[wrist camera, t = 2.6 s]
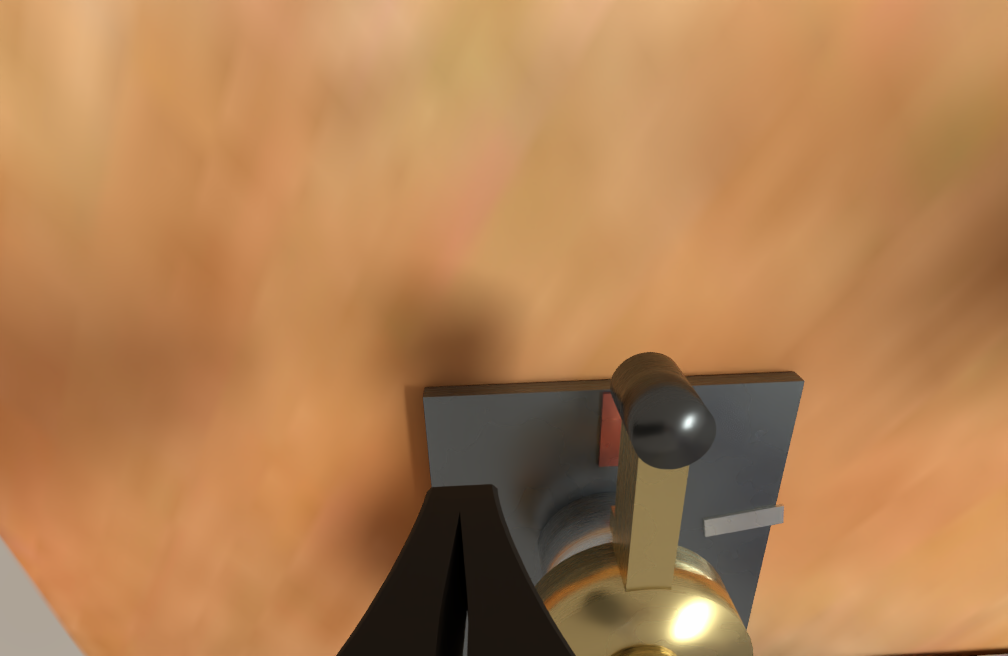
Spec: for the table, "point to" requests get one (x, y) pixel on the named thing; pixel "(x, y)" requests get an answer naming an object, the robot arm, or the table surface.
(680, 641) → the brass lever handle
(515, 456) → the dark grey plate
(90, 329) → the table surface
